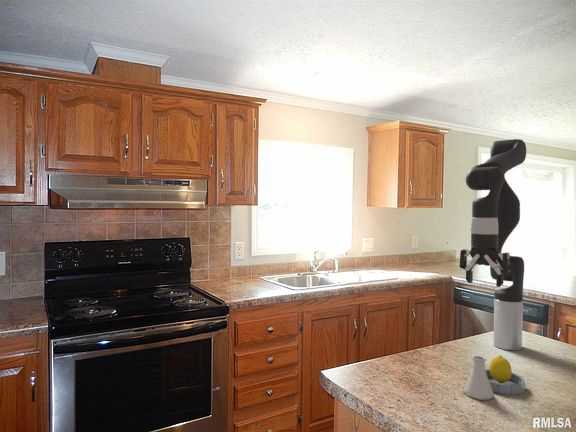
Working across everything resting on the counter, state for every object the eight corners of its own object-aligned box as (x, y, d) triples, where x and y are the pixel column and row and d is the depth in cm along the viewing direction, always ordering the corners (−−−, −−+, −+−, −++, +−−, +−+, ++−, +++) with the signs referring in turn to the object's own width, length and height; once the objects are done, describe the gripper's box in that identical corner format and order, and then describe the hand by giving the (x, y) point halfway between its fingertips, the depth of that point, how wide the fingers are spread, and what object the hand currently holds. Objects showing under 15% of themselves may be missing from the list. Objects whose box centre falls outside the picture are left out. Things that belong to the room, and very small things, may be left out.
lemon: (485, 382, 117) (484, 354, 116) (498, 378, 119) (497, 351, 119) (503, 389, 112) (502, 360, 112) (516, 385, 114) (515, 357, 114)
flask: (480, 402, 105) (480, 364, 105) (457, 391, 111) (458, 354, 111) (499, 398, 108) (500, 360, 108) (477, 387, 114) (477, 351, 114)
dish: (487, 374, 124) (487, 365, 124) (530, 386, 115) (530, 377, 115) (471, 384, 116) (471, 376, 116) (515, 398, 107) (515, 389, 107)
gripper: (513, 232, 123) (513, 286, 123) (466, 230, 133) (465, 279, 134) (505, 234, 118) (504, 290, 118) (456, 231, 128) (455, 283, 128)
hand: (484, 284), depth 126 cm, fingers open, 8 cm apart
